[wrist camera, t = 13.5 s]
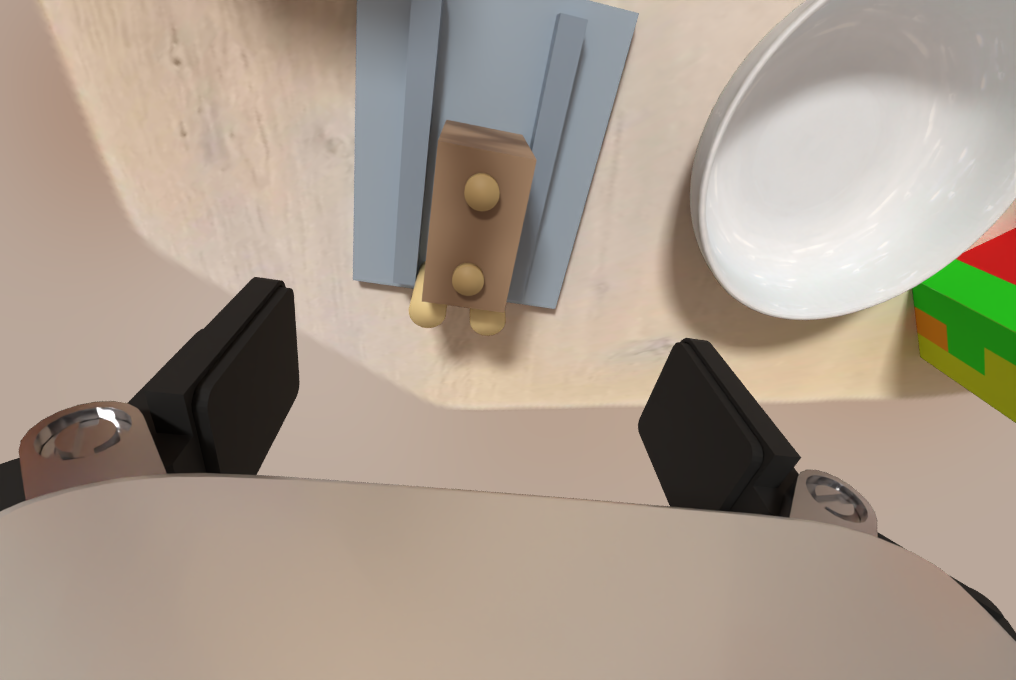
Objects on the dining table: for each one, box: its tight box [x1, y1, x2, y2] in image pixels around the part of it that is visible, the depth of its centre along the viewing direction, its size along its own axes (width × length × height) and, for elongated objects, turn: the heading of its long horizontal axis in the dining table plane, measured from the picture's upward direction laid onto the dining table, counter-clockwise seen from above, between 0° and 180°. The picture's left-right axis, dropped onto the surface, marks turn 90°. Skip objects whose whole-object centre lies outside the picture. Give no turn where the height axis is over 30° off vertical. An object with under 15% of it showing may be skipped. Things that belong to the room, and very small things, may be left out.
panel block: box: [422, 120, 537, 313], centre depth 28 cm, size 5×9×9 cm, turn 169°
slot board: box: [353, 0, 639, 336], centre depth 28 cm, size 16×20×7 cm
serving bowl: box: [690, 0, 1016, 320], centre depth 30 cm, size 21×21×7 cm
